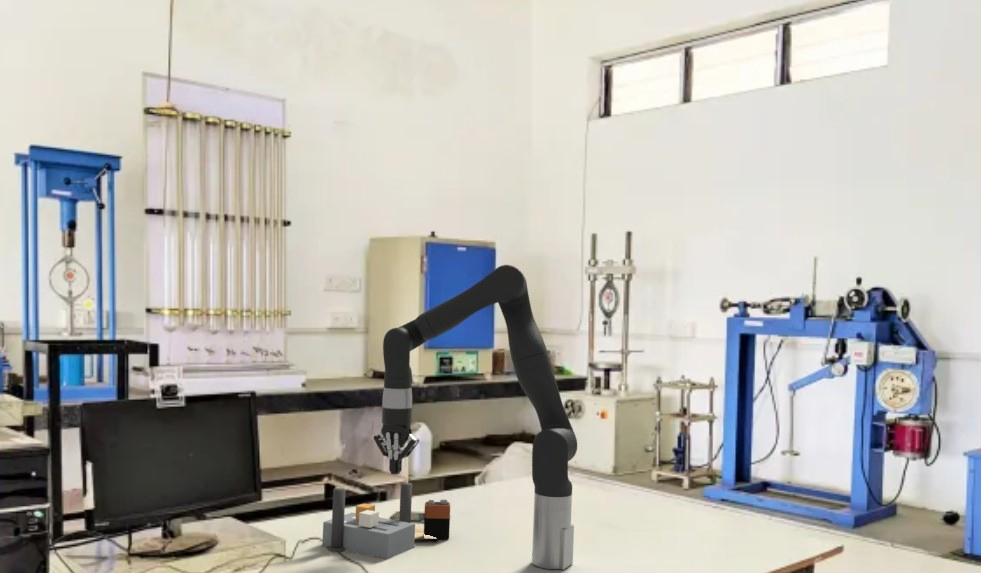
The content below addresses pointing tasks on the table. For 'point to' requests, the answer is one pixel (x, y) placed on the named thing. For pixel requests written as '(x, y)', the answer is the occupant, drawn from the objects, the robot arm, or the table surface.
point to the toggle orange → (364, 509)
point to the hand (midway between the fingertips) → (395, 473)
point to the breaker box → (373, 536)
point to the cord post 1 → (337, 520)
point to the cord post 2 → (405, 502)
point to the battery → (437, 519)
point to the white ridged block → (368, 518)
